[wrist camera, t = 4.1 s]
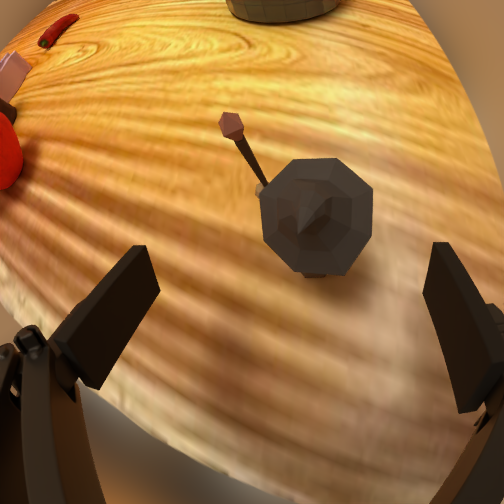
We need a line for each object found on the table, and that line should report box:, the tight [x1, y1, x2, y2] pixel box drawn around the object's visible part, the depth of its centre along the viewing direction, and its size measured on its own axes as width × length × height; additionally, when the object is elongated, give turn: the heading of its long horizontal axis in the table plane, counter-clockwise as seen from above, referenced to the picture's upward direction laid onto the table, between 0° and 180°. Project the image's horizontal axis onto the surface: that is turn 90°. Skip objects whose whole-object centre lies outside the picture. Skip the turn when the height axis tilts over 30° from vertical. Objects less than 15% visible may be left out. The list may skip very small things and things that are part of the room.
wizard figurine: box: [219, 112, 373, 278], centre depth 17 cm, size 8×6×12 cm
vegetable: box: [37, 14, 79, 49], centre depth 45 cm, size 4×5×12 cm
